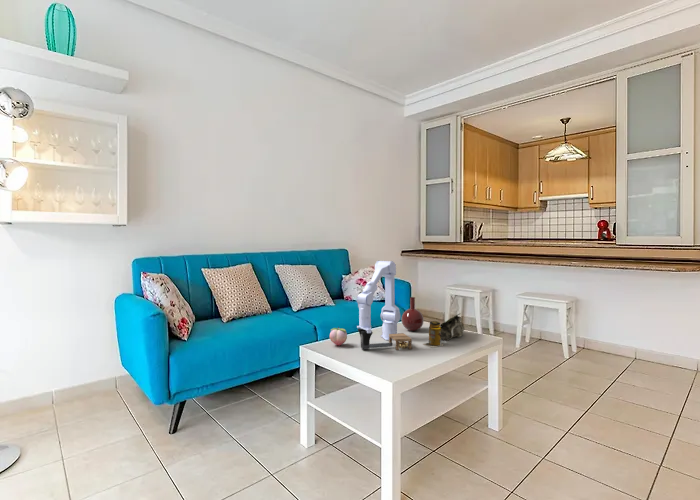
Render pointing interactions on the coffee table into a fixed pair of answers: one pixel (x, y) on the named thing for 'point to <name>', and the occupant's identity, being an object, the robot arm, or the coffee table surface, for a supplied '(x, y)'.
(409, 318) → the round-bottom flask
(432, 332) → the condiment
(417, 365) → the coffee table surface
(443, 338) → the hollow geode rock
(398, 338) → the stand
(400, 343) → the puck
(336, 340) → the decorative fruit
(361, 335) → the dark grey mallet
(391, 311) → the robot arm
